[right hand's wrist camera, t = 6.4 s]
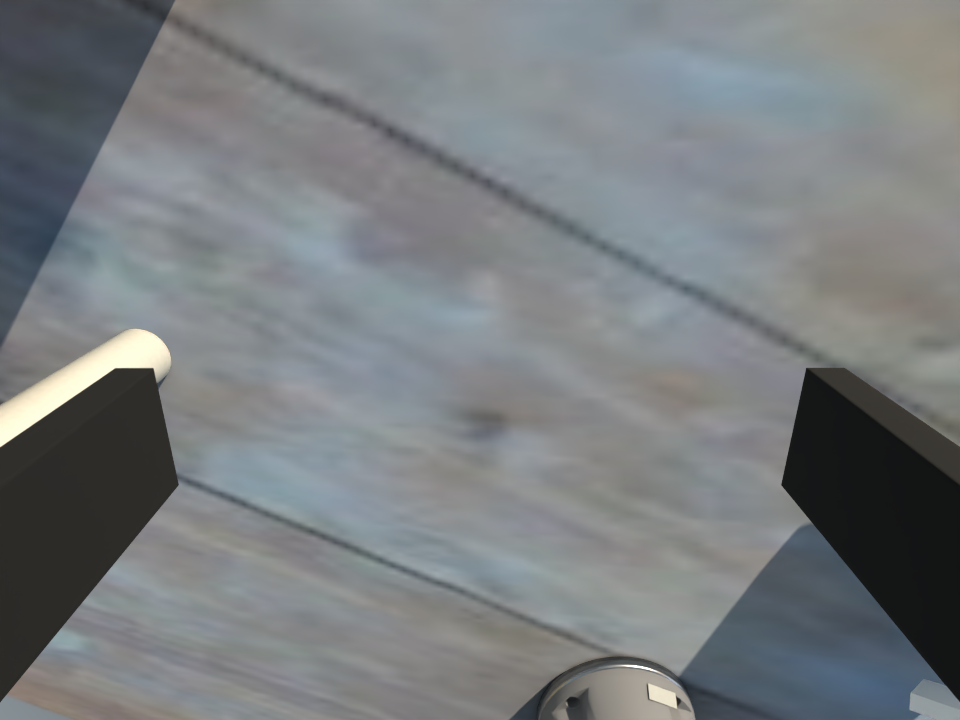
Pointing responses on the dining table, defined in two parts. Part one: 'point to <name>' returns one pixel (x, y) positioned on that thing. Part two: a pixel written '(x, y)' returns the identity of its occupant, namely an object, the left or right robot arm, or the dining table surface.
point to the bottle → (82, 378)
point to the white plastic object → (934, 701)
